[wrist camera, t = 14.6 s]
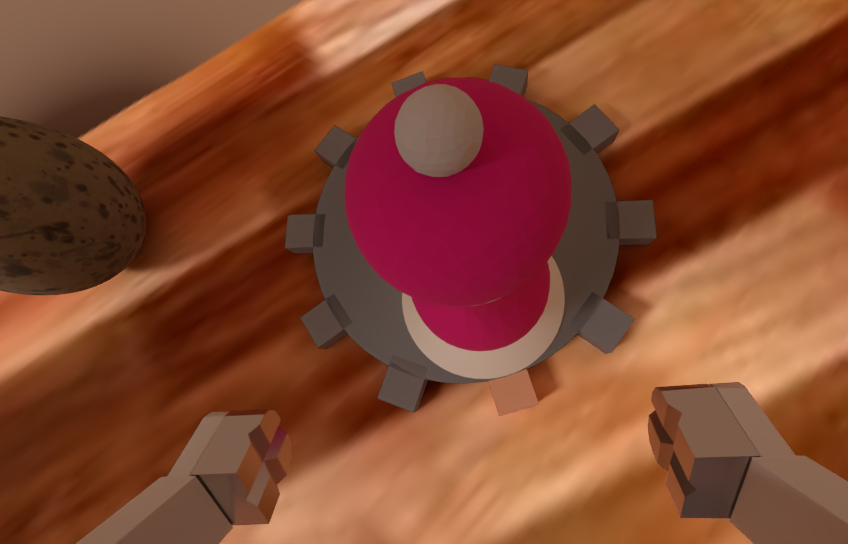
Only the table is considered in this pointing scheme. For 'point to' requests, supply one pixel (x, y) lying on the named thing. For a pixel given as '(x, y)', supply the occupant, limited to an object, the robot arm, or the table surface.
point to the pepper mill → (462, 207)
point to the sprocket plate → (395, 312)
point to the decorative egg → (62, 212)
